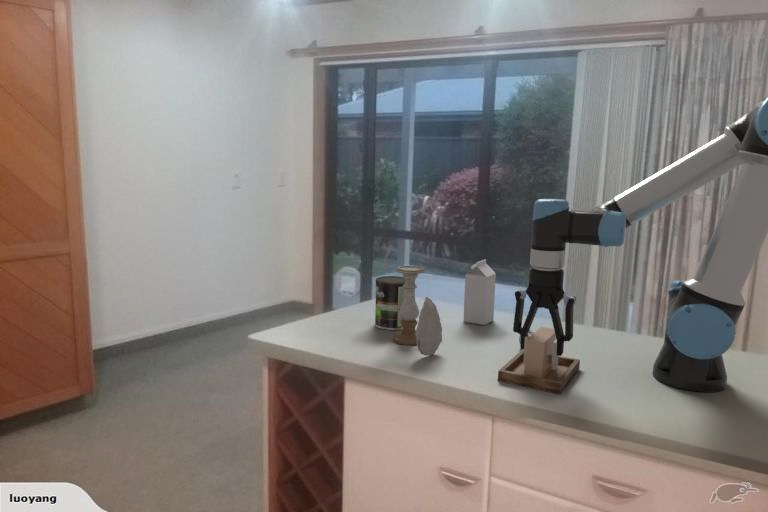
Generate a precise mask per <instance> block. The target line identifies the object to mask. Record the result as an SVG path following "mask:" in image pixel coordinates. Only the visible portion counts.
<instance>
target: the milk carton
mask: <svg viewBox="0 0 768 512" xmlns="http://www.w3.org/2000/svg"><path fill="white" fill-rule="evenodd" d="M469 268H470V270H469V271H468V272H467V273H465V275H464V276H465V277H464V296H463V297H464V303H463V322H464V323H470V324H474V325H475V324H476V325H482V326H486V325H488V324H490V323H491V322H493V321H494V315H495V295H496V293H495V292H496V277H497V275H496V271H494V270H493V269H492V267H490V266H489V265H488V264H487V259H485V258H484V259H482V260H480V261H476V263H474V264H472V265H471V266H470V267H469Z"/></svg>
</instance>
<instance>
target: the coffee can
mask: <svg viewBox="0 0 768 512" xmlns="http://www.w3.org/2000/svg"><path fill="white" fill-rule="evenodd" d="M404 284H405V279H404V278H403V276H398V275H387V276H386V275H384V276H380V277H379V276H378V277H376V278H375V311H374V312H375V313H374V315H375V317H374V326H375V327H376V328H378V329H380V330H386V331H399V330H403V327H402V324H401V323H400V321H401V320H402V318H401V316H400V313H399V311H400V308H401V305H402V303H403V301H404V296H405V288H403V285H404Z"/></svg>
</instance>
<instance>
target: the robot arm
mask: <svg viewBox="0 0 768 512" xmlns="http://www.w3.org/2000/svg"><path fill="white" fill-rule="evenodd" d="M739 167H740V169H739V172H738V175H737V176H736V179H735V181H734V183H733V185H732V188H731V190H730V193H729V195H728V197H727V200H726V202H725V204H724V207H723V209H722V212H721V214H720V216H719V218H718V222H717V224H716V226H715V228H714V230H713V232H712V236H711V238H710V240H709V242H708V243H707V244H708V245H707V247H706V248H705V252H704V254H703V255H702V259H701V261H700V263H699V266H698V268H697V271H696V272H695V275H694V276H693V277H691V278H688V279H686V280H681V279H680V280H679V279H678V280H677V279H676V280H673V281H672V282H671V283H670V284H669V290H668V291H667V292H668V293H667V294H668V299H667V309H666V320H665V330H664V340H663V345H662V346H661V348H660V350H659V352H658V355H657V356H656V358H655V360H654V363H653V367H652V376H653V377H654V378H655V379H656V380H658V381H659V382H660V383H663V384H666V385H668V386H671V387H674V388H677V389H681V390H687V391H693V392H701V393H702V392H703V393H710V392H711V393H712V392H720V391H723V390H725V389H726V387H727V382H728V375H727V371H726V366H725V362H724V358H723V354H725V353H726V352H727V351H729V349H730V348H731V347H732V345H733V343H734V341H735V339H736V336H735V335H736V334H737V333H736V325H737V323H738V322H739V319H740V317H741V314H742V312H743V310H744V308H745V306H746V301H745V298H744V296H743V294H742V290H743V289H744V286H745V284H746V282H747V279H748V277H749V275H750V273H751V270H752V268H753V267H754V264H755V262H756V260H757V258H758V255H759V253H760V252H761V249H762V246H763V244H764V243H765V240H766V238H767V235H768V95H766V96H765V97H764V98H763V99H761V100H760V101H758V103H757V104H756V105H755V106H754V107H752V108H751V109H750V110H749V111H748V112H747V113H745V114H744V115H742V116H741V117H740V118H738V119H737V120H735V121H734V122H733V123H731V124H729V125H727V126H726V127H724V131H723V133H722V134H721V135H719V136H717V137H716V138H715V139H712V140H710V141H708V142H707V143H705V144H704V145H702V146H700V147H699V148H696V149H695V150H694V151H692V152H690V153H688V154H686V155H685V156H683V157H682V158H680V159H678V160H675V161H674V162H673V163H671V164H670V165H667V166H666V167H664V168H662V169H661V170H659V171H657V172H656V173H654V174H652V175H650V176H649V177H647V178H645V179H643V180H641V181H640V182H638V183H636V184H635V185H633V186H631V187H630V188H627V189H626V190H624V191H622V192H621V193H620V194H617V195H615V196H614V197H613V198H611V199H609V200H608V201H606V202H604V203H602V204H600V205H598V206H595V207H594V208H593V209H589V210H588V209H573V208H570V206H569V201H568V200H566V199H559V198H540V199H539V198H538V199H537V200H535V202H534V203H533V213H532V218H531V243H530V244H531V245H530V257H529V258H530V259H529V265H530V266H531V267H530V268H529V270H528V271H529V273H528V286H527V288H526V289H521V288H520V289H518V290H515V292H514V297H515V302H516V303H515V310H514V316H513V317H514V319H513V327H512V331H513V332H514V333H517V334H519V336H520V335H521V343H519V347H520V350H522V349H524V361H523V364H525V352H526V339H527V338H529V337H530V336H531V335H529V334H528V333H529V330H531V327H532V324H533V321H534V320H535V317H536V314H537V312H538V309H540V308H541V309H545V310H548V311H549V314H550V318H551V321H552V325H553V329H554V330H555V335H556V340H555V341H554V342H553V354H552V368H551V370H555V369H556V368H557V367H558V356H562V355H563V354H564V348H565V347H564V346H565V342H570V341H571V340H572V339H573V338H574V306H575V305H576V302H577V298H576V296H570V295H568V294H566V293H565V291H564V288H563V287H564V277H565V276H564V274H565V271H564V269H563V268H564V267H565V261H566V248H567V247H566V245H567V244H579V245H589V246H591V245H592V246H601V247H604V248H607V247H622V246H623V244H624V242H625V237H626V229H628V228H629V227H630V226H632V225H634V224H636V223H638V222H640V221H641V220H644V219H645V218H647V217H649V216H650V215H652V214H654V213H656V212H658V211H660V210H661V209H663V208H665V207H667V206H669V205H670V204H673V203H674V202H676V201H678V200H680V199H682V198H683V197H685V196H687V195H689V194H691V193H693V192H695V191H696V190H698V189H701V188H702V187H704V186H705V185H707V184H709V183H711V182H713V181H715V180H717V179H718V178H720V177H722V176H724V175H726V174H727V173H728V174H729V172H732V171H734V170H735V169H737V168H739ZM527 296H528V298H529V300H530V301H531V304H530V307H529V310H528V313H527V315H526V317H525V320H524V322H523V317H524V308H525V299H526V298H527ZM562 300H563V303H564V305H565V311H564V312H565V313H564V314H565V315H564V317H565V319H564V322H565V324H564V329H563V324H562V319H561V315H560V311H559V310H560V309H559V305H558V304H559V303H560V302H561V301H562ZM523 323H524V324H523ZM522 324H523V325H522Z"/></svg>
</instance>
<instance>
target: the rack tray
mask: <svg viewBox="0 0 768 512" xmlns="http://www.w3.org/2000/svg"><path fill="white" fill-rule="evenodd" d="M523 361H524V349H520V351H519V352H518V353H516V354H515V355H514V356H513V357H512V358H511V359H510V360H508V361H507V362H506V364H505V365H503V366H502V367H500V369H499V370H498V371H497V381H498V382H500V383H501V382H502V383H507V384H511V385H515V386H519V387H520V386H521V387H524V388H529V389H534V390H539V391H544V392H548V393H552V394H558V395H562V393H563V392H564V390H565V389H566V387H567V386H568V385H569V383H571V381H572V380H573V378H574V377H575V375H576V374H577V373H578V372H579V370H580V361H581V360H580V359H578V358H573V357H567V356H564V355H563V356H562V355H561V356H558V367H557V368H556V369H555V370H551V371H550V372H549V373H548V374H547V376H546V377H545V378H539V377H535V376H530V375H525V374H524V366H525V364H523Z"/></svg>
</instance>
